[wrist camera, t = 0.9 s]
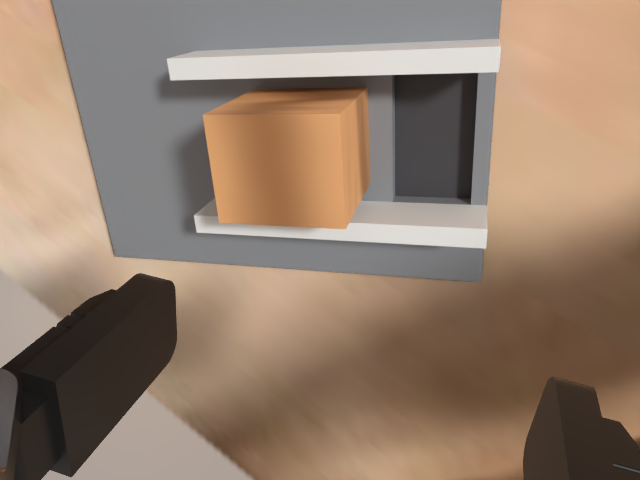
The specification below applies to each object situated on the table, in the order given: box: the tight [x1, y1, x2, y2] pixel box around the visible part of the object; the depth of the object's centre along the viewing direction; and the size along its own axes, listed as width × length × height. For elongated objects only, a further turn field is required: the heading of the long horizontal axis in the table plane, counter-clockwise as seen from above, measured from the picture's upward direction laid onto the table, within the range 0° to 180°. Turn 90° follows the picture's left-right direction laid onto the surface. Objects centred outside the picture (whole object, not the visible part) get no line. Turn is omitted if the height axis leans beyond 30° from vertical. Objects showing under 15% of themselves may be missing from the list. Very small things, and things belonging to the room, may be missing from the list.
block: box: [203, 87, 370, 229], centre depth 26 cm, size 6×5×6 cm
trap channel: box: [52, 0, 502, 282], centre depth 28 cm, size 23×16×4 cm
